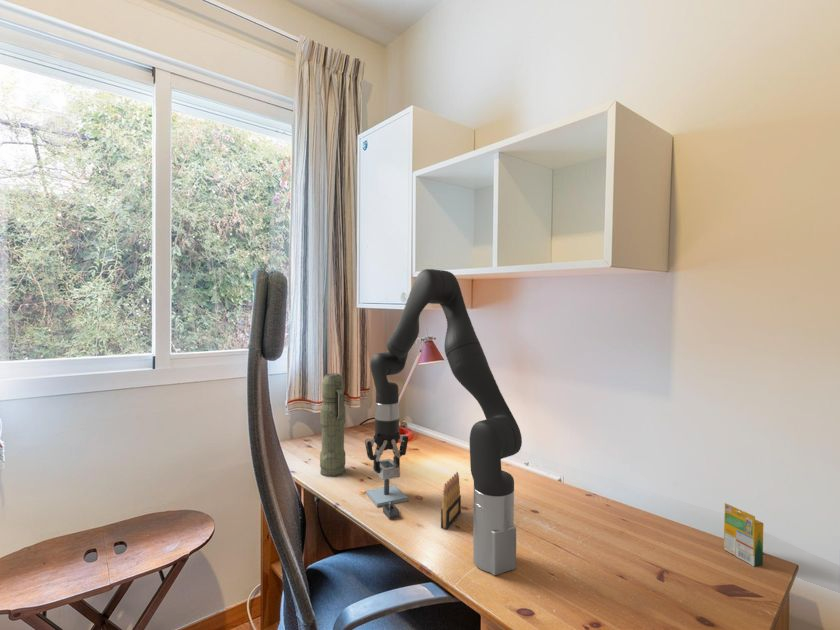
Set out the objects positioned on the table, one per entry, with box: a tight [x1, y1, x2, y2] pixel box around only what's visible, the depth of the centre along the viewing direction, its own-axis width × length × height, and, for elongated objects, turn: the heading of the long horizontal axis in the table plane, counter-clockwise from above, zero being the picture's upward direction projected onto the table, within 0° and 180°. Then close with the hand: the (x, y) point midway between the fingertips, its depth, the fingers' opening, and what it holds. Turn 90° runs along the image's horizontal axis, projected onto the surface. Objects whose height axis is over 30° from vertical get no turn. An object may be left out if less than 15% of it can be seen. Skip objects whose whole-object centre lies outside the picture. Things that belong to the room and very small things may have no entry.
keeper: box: [365, 479, 409, 508], centre depth 132 cm, size 10×10×8 cm
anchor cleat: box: [382, 501, 400, 520], centre depth 120 cm, size 5×3×4 cm, turn 26°
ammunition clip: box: [440, 471, 462, 530], centre depth 118 cm, size 11×2×12 cm, turn 154°
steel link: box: [373, 458, 401, 481], centre depth 132 cm, size 8×6×3 cm
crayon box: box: [723, 502, 764, 567], centre depth 101 cm, size 7×3×12 cm, turn 17°
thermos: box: [319, 373, 346, 478], centre depth 151 cm, size 9×12×35 cm
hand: (386, 470), depth 132 cm, fingers closed on steel link, 5 cm apart
